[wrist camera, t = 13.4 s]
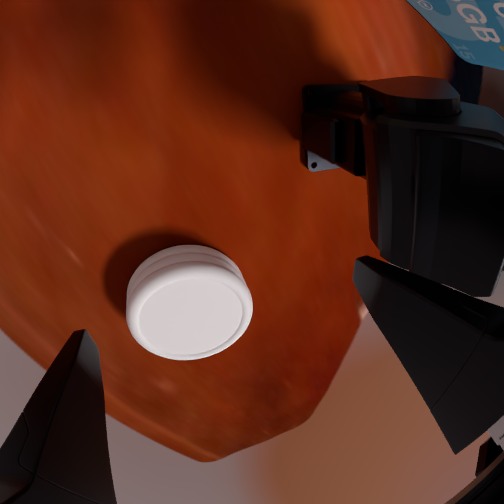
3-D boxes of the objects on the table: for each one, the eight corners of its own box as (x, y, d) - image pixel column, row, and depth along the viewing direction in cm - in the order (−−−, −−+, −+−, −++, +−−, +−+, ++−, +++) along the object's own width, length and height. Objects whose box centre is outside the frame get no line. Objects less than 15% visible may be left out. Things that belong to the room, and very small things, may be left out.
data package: (386, -16, 15) (510, -25, 5) (399, -44, 13) (510, -57, 3) (462, 62, 20) (561, 89, 10) (470, 34, 18) (565, 53, 8)
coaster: (257, 306, 28) (269, 332, 25) (164, 347, 28) (168, 376, 25) (216, 220, 22) (226, 243, 19) (104, 275, 22) (99, 305, 19)
